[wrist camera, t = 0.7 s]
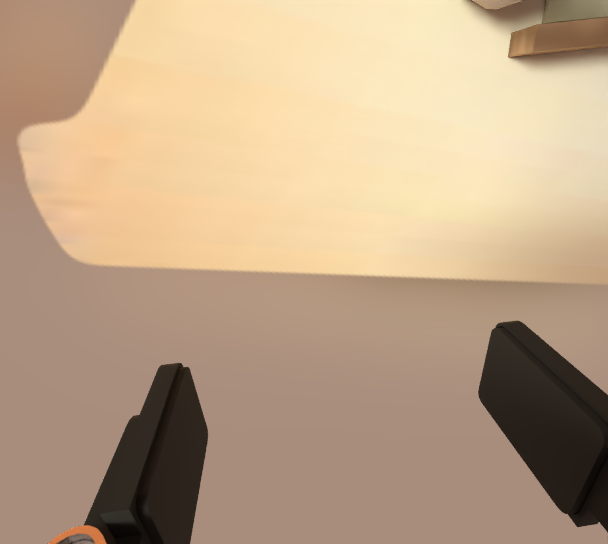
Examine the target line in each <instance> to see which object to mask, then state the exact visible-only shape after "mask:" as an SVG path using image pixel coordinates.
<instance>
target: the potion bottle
mask: <svg viewBox="0 0 608 544" xmlns="http://www.w3.org/2000/svg"><path fill="white" fill-rule="evenodd" d="M471 1H473V2H474V3H476V4H477V5H480V6H482V7H483V8H485V9H499V8H502V7H505V6H508V5H511V4H514V3H517V2H520V1H523V0H471Z"/></svg>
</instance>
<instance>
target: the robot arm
mask: <svg viewBox="0 0 608 544" xmlns="http://www.w3.org/2000/svg"><path fill="white" fill-rule="evenodd" d="M478 393H479V398H480V400H481V402H482V404H483V405H484V406H485V408H486V409H487V411H488V412H489V413H490V415H491V416H492V418H493V419H494V420H495V422H496V423H497V424H498V426H499V427H500V428H501V430H502V431H503V433H504V434H505V435H506V437H507V438H508V440H509V441H510V442H511V444H512V445H513V446H514V448H515V449H516V451H517V452H518V453H519V455H520V456H521V457H522V459H523V460H524V462H525V463H526V464H527V466H528V467H529V469H530V470H531V471H532V472H533V474H534V475H535V477H536V478H537V480H538V481H539V482H540V484H541V485H542V487H543V488H544V489H545V491H546V492H547V493H548V494H549V496H550V498H551V499H552V500H553V502H554V503H555V504H556V506H557V507H558V508H559V509H560V510H561V511H562V512H563V513H565V514H568V515H569V517H570V518H571V519H572V521H573V522H574V523H575V525H576V526H577V527H581V526H587V525H593V524H597V523H598V522H600V523H601V525H602V526H603V527H604V528H605V529H606V531H607V536H608V395H607V394H606V393H605V392H603V391H602V390H601V389H600V388H599V387H598V386H596V385H595V384H594V383H593V382H591V380H589V379H588V378H587V377H586V376H585V375H583V374H582V373H581V372H580V371H579V370H577V369H576V368H575V367H574V366H573V365H572V364H570V363H569V362H568V361H567V360H566V359H565V358H563V357H562V356H561V355H560V354H559V353H558V352H556V351H555V350H554V349H553V348H552V347H550V346H549V345H548V344H547V343H546V342H545V341H543V340H542V339H541V338H540V337H539V336H538V335H536V334H535V333H534V332H533V331H532V330H531V329H529V328H528V327H527V326H526V325H525V324H523V323H522V322H520V321H511V322H503V323H498V324H497V326H496V328H494V329H493V330H492V332H491V336H490V341H489V345H488V350H487V354H486V359H485V363H484V368H483V373H482V377H481V381H480V386H479V391H478ZM207 441H208V430H207V426H206V422H205V419H204V416H203V412H202V409H201V405H200V403H199V399H198V395H197V392H196V389H195V386H194V382H193V379H192V375H191V372H190V369H189V367H183V365H182V364H181V363H175V364H167V365H161V366H160V367H159V368H158V371H157V373H156V376H155V378H154V381H153V383H152V386H151V388H150V391H149V393H148V396H147V398H146V401H145V403H144V406H143V408H142V410H141V413H140V415H136V416H133V417H132V418H131V419H130V420H129V422H128V424H127V426H126V428H125V431H124V433H123V435H122V438H121V440H120V442H119V445H118V447H117V450H116V452H115V454H114V456H113V459H112V461H111V463H110V466H109V468H108V470H107V473H106V475H105V477H104V479H103V482H102V484H101V486H100V489H99V491H98V493H97V496H96V498H95V500H94V503H93V505H92V507H91V510H90V512H89V514H88V517H87V519H86V521H85V524H84V526H77V527H74V528H72V529H69V530H66V531H65V532H63V533H61V534H60V535H58V536H57V537H55V538H54V539H53V540H51V541H50V542H49V543H48V544H190V540H191V535H192V528H193V523H194V517H195V511H196V505H197V500H198V494H199V488H200V482H201V476H202V470H203V464H204V459H205V453H206V447H207Z"/></svg>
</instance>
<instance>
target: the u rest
mask: <svg viewBox="0 0 608 544" xmlns="http://www.w3.org/2000/svg"><path fill="white" fill-rule="evenodd" d="M605 17H607V18H605ZM595 18H597V19H595ZM585 19H587V20H585ZM575 20H577V21H575ZM565 21H568V22H565ZM555 22H558V23H555ZM546 23H548V24H546ZM600 47H608V0H546V4H545V10H544V16H543V22H542V24H538V25H535V26H532V27H529V28H526V29H522V30H519V31H516V32H513V33H511V40H510V48H509V55H508V57H515V56H524V55H534V54H543V53H553V52H562V51H571V50H581V49H590V48H600Z"/></svg>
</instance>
